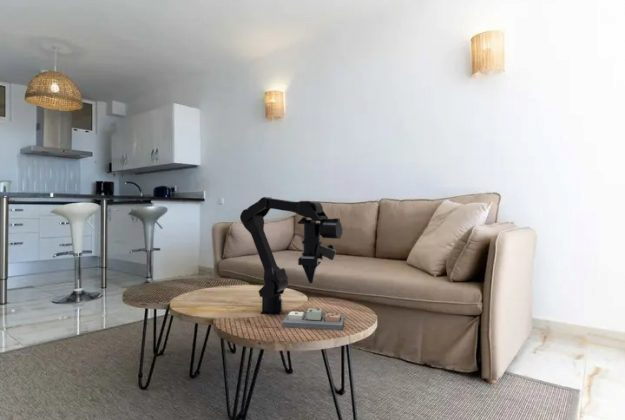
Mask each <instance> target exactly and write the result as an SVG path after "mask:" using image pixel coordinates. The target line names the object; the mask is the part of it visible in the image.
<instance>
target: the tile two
mask: <svg viewBox="0 0 625 420" xmlns="http://www.w3.org/2000/svg"><path fill="white" fill-rule="evenodd" d="M306 313H307V320H321V318H322V314H323V308H309V307H308V309H307V311H306Z"/></svg>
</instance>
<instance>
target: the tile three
mask: <svg viewBox="0 0 625 420" xmlns="http://www.w3.org/2000/svg"><path fill="white" fill-rule="evenodd" d="M325 314H326V316H325V321H327V322H340V315H341V313H330V312H328V313H325Z"/></svg>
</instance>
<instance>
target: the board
mask: <svg viewBox="0 0 625 420" xmlns="http://www.w3.org/2000/svg"><path fill="white" fill-rule="evenodd" d="M290 312H291V311H289V312H288V314H287V315H286V316H285V318H284V319H283V320H282V321H281V327H282V328H292V329H293V328H295V329H314V330H333V331H335V330H336V331H343V328H344V322H345V314H340V322H327V321H325V316H326V313H322V318H321V320H307V312H304V319H303V320H289V319H288V315H289V313H290Z"/></svg>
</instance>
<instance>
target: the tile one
mask: <svg viewBox="0 0 625 420" xmlns="http://www.w3.org/2000/svg"><path fill="white" fill-rule="evenodd" d="M289 312H290V313H289ZM289 312H288V314H289V315H288V314H287V315H288V319H289V320H303V319H304V313H305V311H289Z"/></svg>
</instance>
